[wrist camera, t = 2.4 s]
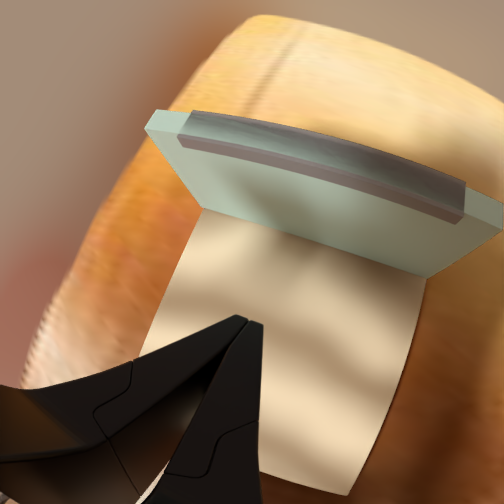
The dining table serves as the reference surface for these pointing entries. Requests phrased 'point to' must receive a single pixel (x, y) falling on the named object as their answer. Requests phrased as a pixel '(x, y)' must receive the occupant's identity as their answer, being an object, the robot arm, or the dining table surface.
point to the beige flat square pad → (300, 338)
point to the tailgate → (326, 189)
